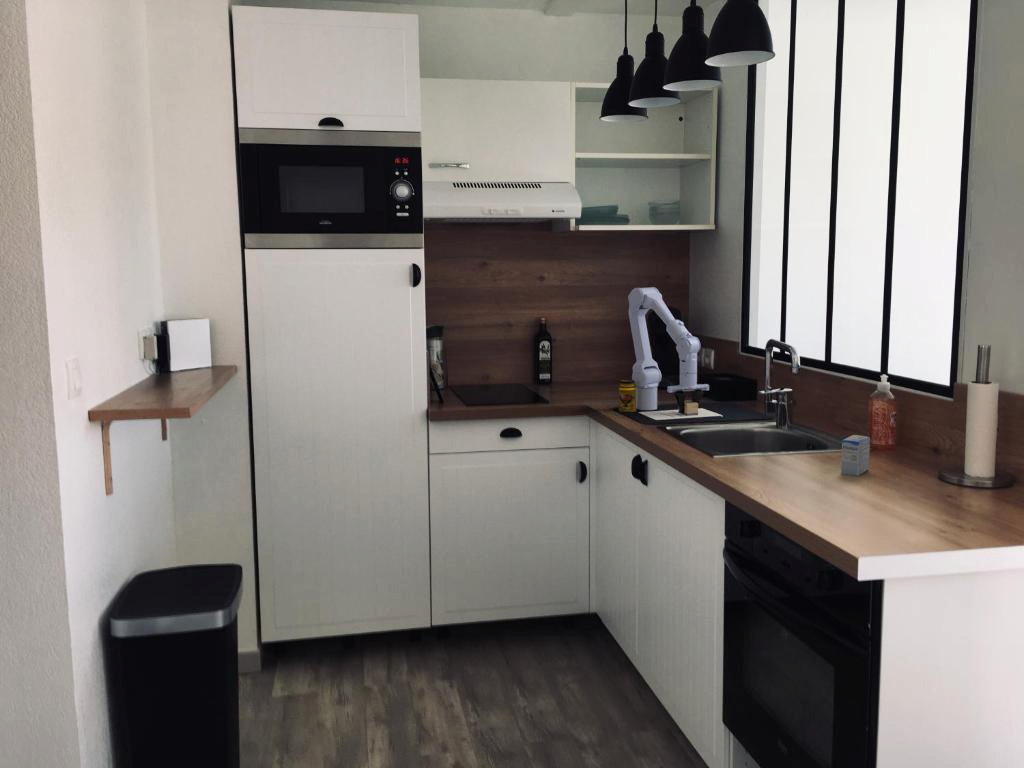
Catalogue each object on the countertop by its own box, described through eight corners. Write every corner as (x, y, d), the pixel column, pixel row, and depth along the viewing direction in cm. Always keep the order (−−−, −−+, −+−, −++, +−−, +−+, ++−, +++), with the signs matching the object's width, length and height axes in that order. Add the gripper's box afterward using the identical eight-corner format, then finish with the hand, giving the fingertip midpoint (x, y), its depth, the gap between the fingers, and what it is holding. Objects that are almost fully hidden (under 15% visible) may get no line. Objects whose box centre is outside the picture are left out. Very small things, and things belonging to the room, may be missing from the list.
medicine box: (851, 468, 228) (852, 434, 226) (869, 470, 225) (870, 436, 224) (840, 474, 222) (841, 439, 220) (858, 476, 219) (859, 441, 218)
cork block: (678, 412, 309) (678, 401, 308) (689, 411, 310) (689, 400, 309) (687, 415, 302) (687, 404, 301) (698, 415, 303) (698, 403, 302)
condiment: (622, 416, 312) (622, 382, 310) (612, 412, 320) (612, 379, 318) (641, 414, 314) (641, 380, 312) (631, 411, 322) (631, 378, 320)
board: (638, 415, 311) (638, 412, 311) (702, 411, 317) (702, 408, 317) (656, 423, 296) (656, 419, 296) (722, 418, 301) (722, 415, 301)
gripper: (673, 375, 298) (673, 415, 300) (713, 373, 302) (712, 412, 304) (664, 372, 305) (664, 412, 307) (704, 370, 309) (703, 409, 310)
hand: (688, 412), depth 306 cm, fingers closed on cork block, 4 cm apart
